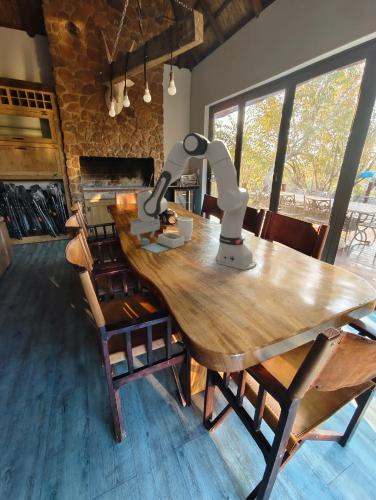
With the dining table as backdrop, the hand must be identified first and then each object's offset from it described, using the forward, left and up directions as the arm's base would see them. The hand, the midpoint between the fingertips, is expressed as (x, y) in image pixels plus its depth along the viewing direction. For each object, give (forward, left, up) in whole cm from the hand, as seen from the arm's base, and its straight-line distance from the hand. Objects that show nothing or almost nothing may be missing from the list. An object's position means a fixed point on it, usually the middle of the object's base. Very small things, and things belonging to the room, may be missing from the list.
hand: (146, 238), depth 149 cm
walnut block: (-12, -13, -4) cm, 18 cm away
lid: (-7, 0, -5) cm, 8 cm away
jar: (-8, -27, -5) cm, 29 cm away
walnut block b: (-6, -13, -4) cm, 15 cm away
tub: (-9, -13, -5) cm, 17 cm away
